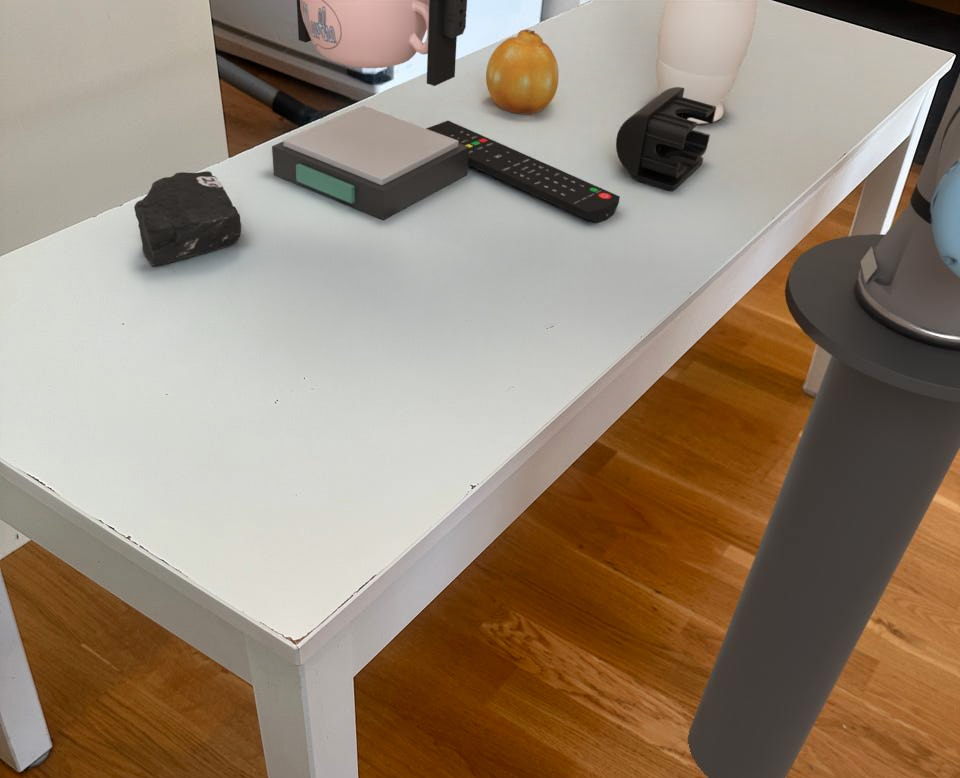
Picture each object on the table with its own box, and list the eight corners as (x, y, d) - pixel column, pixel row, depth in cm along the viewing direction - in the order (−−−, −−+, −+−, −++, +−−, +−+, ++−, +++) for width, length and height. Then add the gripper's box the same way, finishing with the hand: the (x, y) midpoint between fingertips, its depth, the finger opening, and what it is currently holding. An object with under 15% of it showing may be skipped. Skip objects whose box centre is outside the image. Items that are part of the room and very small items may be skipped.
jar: (692, 136, 116) (726, -13, 105) (626, 105, 121) (651, -41, 110) (748, 117, 122) (786, -27, 111) (682, 88, 126) (712, -53, 115)
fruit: (551, 69, 121) (527, 7, 114) (578, 102, 116) (556, 39, 110) (492, 109, 122) (465, 50, 115) (517, 143, 118) (491, 84, 111)
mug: (276, 54, 80) (270, -33, 76) (360, 27, 86) (359, -56, 81) (392, 100, 76) (393, 10, 71) (473, 67, 81) (478, -17, 77)
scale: (467, 174, 105) (469, 140, 103) (380, 222, 97) (380, 186, 94) (362, 134, 110) (362, 101, 107) (270, 176, 102) (267, 141, 99)
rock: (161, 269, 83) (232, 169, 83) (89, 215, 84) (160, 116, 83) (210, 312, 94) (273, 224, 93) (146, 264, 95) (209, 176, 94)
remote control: (447, 133, 112) (448, 120, 111) (622, 211, 102) (624, 198, 101) (414, 145, 109) (414, 132, 108) (590, 227, 99) (592, 214, 98)
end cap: (646, 144, 114) (658, 79, 109) (704, 162, 112) (720, 96, 107) (609, 175, 108) (620, 107, 103) (670, 194, 106) (685, 126, 101)
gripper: (191, -339, 66) (227, 29, 82) (502, -280, 58) (475, 115, 74) (269, -342, 71) (289, 9, 87) (568, -287, 63) (529, 87, 79)
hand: (375, 58), depth 80 cm, fingers closed on mug, 12 cm apart
